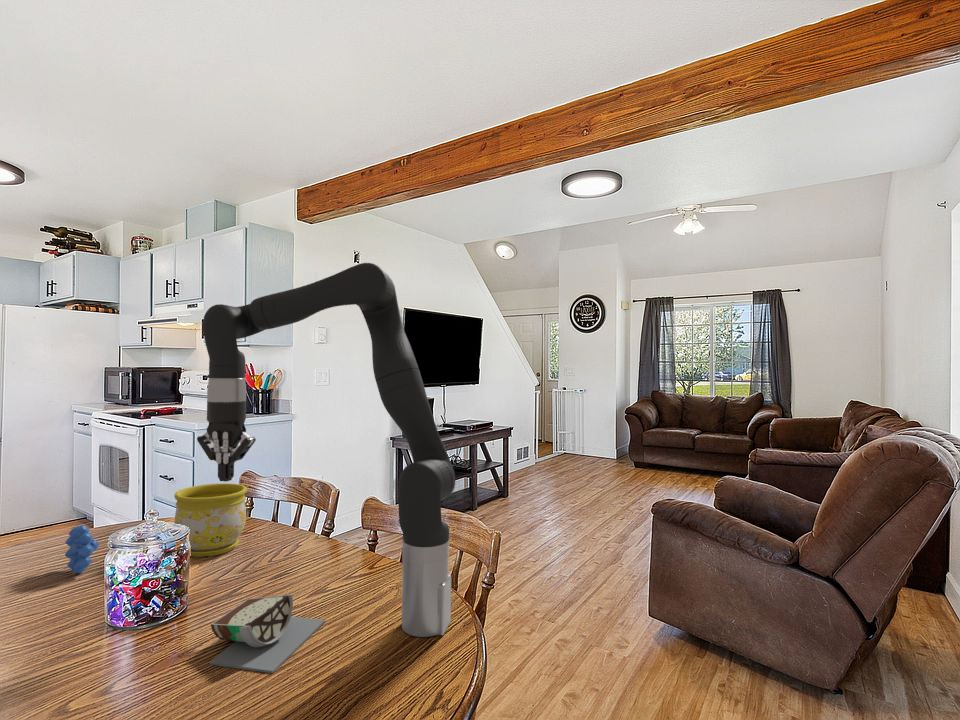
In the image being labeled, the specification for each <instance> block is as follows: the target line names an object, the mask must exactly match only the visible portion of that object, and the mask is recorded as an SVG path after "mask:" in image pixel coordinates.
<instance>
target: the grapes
mask: <svg viewBox="0 0 960 720" xmlns="http://www.w3.org/2000/svg"><path fill="white" fill-rule="evenodd" d="M90 531H91V529H90V528H89V527H87V525H85V524H84V525H83V524H81V525H76V526H74V527H73V528H71V530H70V532H68V535H69V537H68V538H67V539H66V541H65V544H66V545H67V546H68V547H69V548H68V550H67V551H66V552H65V554H64V556H65V557H66V558H68V559H69V562H68V563H67V564H66V565H67V567H68V568H69V569H71V571H72V572H74V573H75V574H78V575H79V574H82V573H83V572H84V571H86V569H87V568H88V567H89V566H90V565H91V563H92V562H93V559H92V558H90V556H91V555H92V554H93V553H94V552H95V551H96V550H97V549H98V548H99V546H100V545H101V544H100V542H99V541H97V540H95V539H94V536H93V535H92V534H91V533H90Z"/></svg>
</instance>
